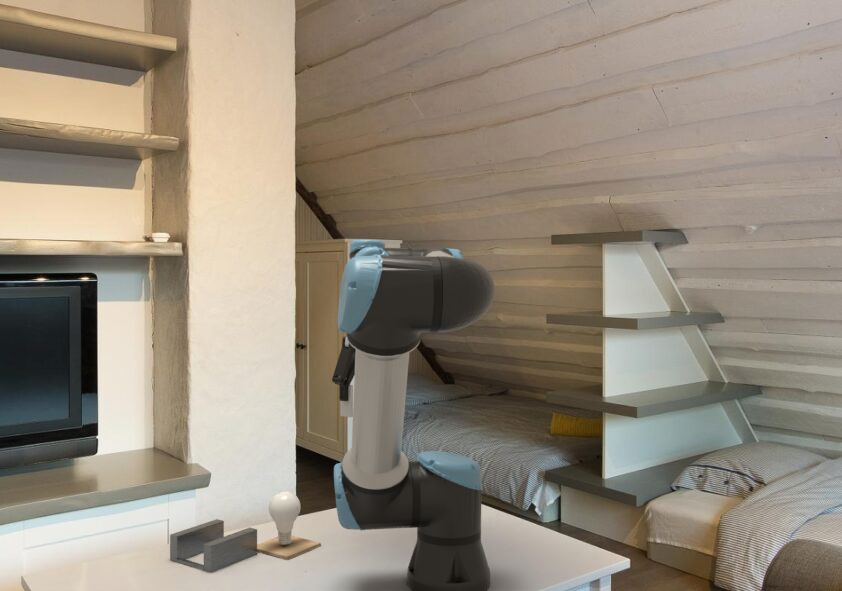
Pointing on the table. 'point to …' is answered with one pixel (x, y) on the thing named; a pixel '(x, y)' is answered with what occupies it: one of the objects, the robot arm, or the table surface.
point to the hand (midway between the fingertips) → (366, 412)
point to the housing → (212, 545)
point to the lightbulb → (284, 514)
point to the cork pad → (287, 547)
